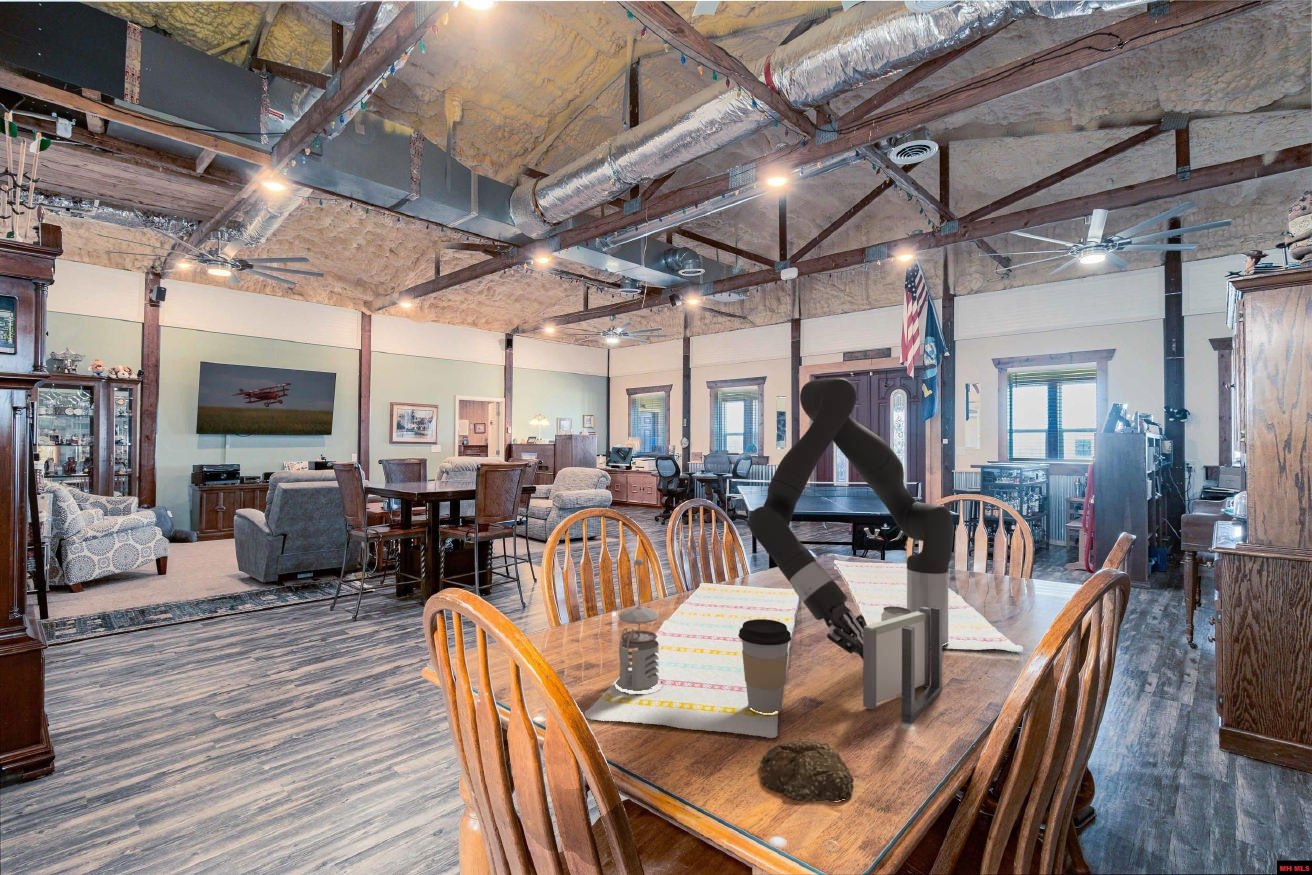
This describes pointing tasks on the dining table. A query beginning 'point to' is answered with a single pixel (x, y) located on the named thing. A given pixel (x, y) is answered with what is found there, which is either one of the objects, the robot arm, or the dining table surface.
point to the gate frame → (909, 704)
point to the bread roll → (806, 771)
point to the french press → (647, 646)
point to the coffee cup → (765, 663)
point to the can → (893, 612)
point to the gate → (893, 656)
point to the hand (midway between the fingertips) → (877, 667)
